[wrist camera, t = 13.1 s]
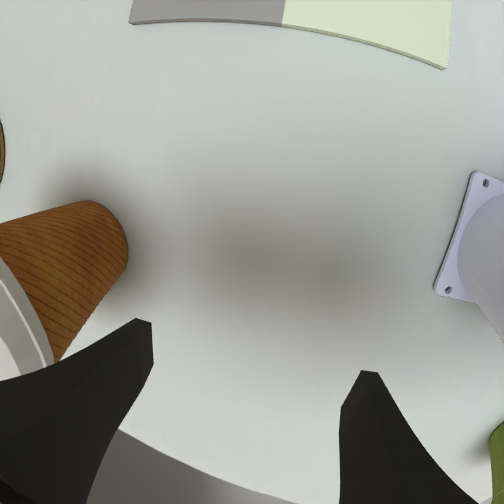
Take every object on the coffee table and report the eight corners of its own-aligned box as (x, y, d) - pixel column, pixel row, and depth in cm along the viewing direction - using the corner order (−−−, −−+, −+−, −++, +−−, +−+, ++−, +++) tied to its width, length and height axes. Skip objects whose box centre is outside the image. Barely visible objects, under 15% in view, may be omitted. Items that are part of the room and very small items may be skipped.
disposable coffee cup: (45, 171, 19) (-89, 227, 8) (152, 187, 18) (-7, 277, 7) (55, 282, 23) (-41, 364, 12) (149, 314, 22) (59, 439, 11)
